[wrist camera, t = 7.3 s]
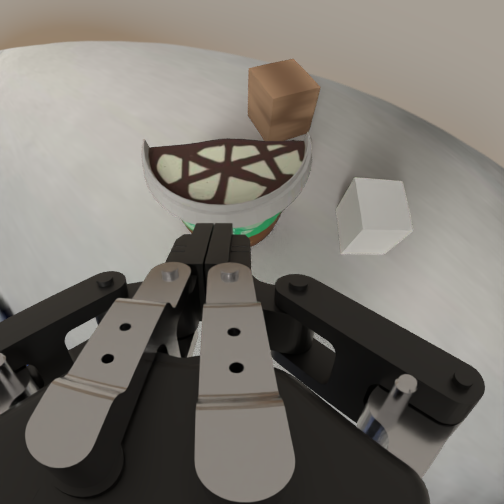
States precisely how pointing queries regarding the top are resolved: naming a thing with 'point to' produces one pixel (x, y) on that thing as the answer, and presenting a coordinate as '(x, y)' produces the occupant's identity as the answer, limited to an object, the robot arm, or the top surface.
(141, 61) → the top surface
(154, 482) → the robot arm
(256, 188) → the food container
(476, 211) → the top surface
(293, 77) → the walnut block
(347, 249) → the grey plastic block
